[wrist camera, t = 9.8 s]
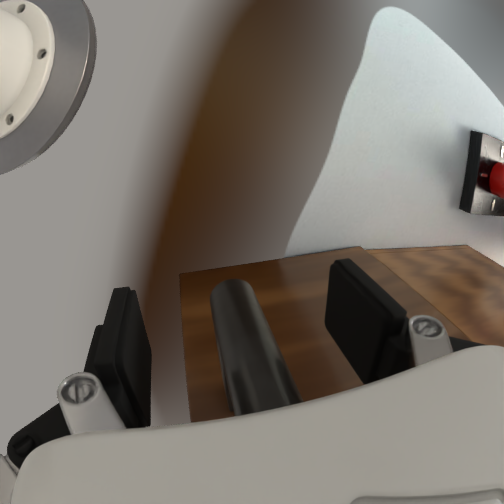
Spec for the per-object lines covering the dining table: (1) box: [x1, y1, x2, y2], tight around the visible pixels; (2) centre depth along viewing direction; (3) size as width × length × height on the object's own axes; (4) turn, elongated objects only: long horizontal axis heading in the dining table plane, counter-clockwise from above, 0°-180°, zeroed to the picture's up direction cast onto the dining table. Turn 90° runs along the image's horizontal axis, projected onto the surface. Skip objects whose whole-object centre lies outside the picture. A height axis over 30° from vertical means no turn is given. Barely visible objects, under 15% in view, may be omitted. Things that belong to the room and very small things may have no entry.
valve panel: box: [459, 131, 504, 216], centre depth 31 cm, size 10×10×2 cm
